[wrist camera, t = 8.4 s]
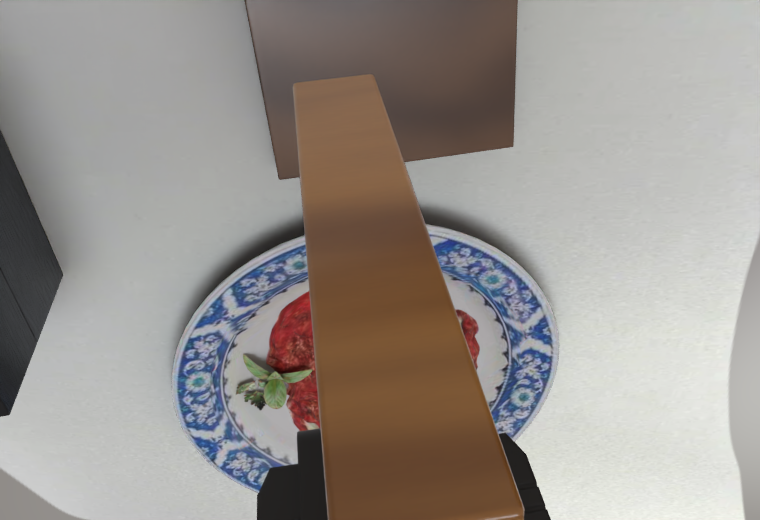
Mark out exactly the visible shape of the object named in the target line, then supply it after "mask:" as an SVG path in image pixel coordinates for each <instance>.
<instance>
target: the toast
mask: <svg viewBox="0 0 760 520" xmlns="http://www.w3.org/2000/svg"><path fill="white" fill-rule="evenodd" d="M293 97H294V109H295V122H296V134H297V146H298V159H299V171H300V183H301V195H302V208H303V220H304V232H305V245H306V257H307V269H308V282H309V294H310V306H311V319H312V331H313V343H314V356H315V368H316V380H317V392H318V405H319V417H320V429H321V442H322V454H323V466H324V479H325V491H326V503H327V516H328V520H524V511H525V509H524V506H523V503H522V500H521V497H520V495H519V492H518V489H517V486H516V483H515V480H514V477H513V474H512V472H511V469H510V466H509V463H508V460H507V457H506V454H505V451H504V448H503V446H502V443H501V440H500V437H499V434H498V431H497V428H496V425H495V423H494V420H493V417H492V414H491V411H490V408H489V405H488V402H487V400H486V397H485V394H484V391H483V388H482V385H481V382H480V379H479V376H478V374H477V371H476V368H475V365H474V362H473V359H472V356H471V353H470V351H469V348H468V345H467V342H466V339H465V336H464V333H463V330H462V328H461V325H460V322H459V319H458V316H457V313H456V310H455V307H454V305H453V302H452V299H451V296H450V293H449V290H448V287H447V284H446V281H445V279H444V276H443V273H442V270H441V267H440V264H439V261H438V258H437V256H436V253H435V250H434V247H433V244H432V241H431V238H430V235H429V233H428V230H427V227H426V224H425V221H424V218H423V215H422V212H421V209H420V207H419V204H418V201H417V198H416V195H415V192H414V189H413V186H412V184H411V181H410V178H409V175H408V172H407V169H406V166H405V163H404V161H403V158H402V155H401V152H400V149H399V146H398V143H397V140H396V137H395V135H394V132H393V129H392V126H391V123H390V120H389V117H388V114H387V112H386V109H385V106H384V103H383V100H382V97H381V94H380V91H379V89H378V86H377V83H376V80H375V77H374V75H371V74H368V75H359V76H350V77H342V78H333V79H324V80H316V81H307V82H298V83H295V84H294V85H293Z"/></svg>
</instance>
